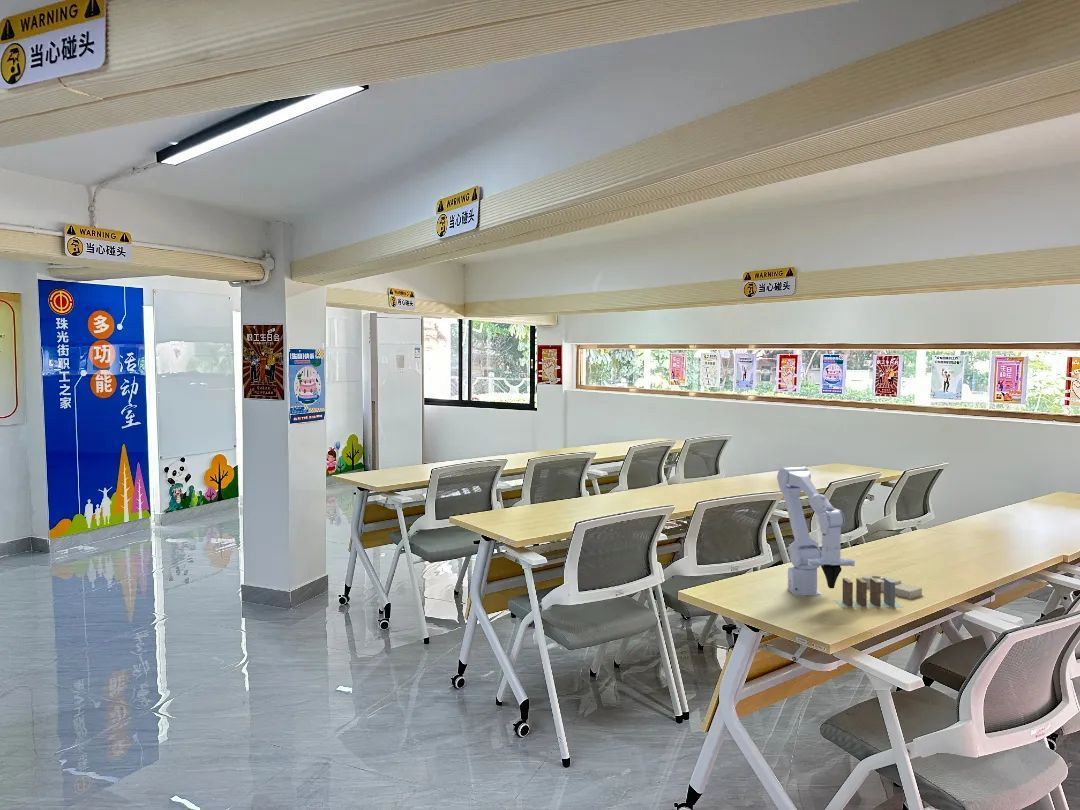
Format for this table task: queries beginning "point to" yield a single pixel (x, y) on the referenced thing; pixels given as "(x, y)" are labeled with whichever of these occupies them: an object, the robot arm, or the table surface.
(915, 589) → the electrical outlet
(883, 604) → the sage mat
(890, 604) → the charcoal end domino
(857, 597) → the walnut domino
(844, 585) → the walnut domino
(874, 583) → the walnut domino
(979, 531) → the table surface
